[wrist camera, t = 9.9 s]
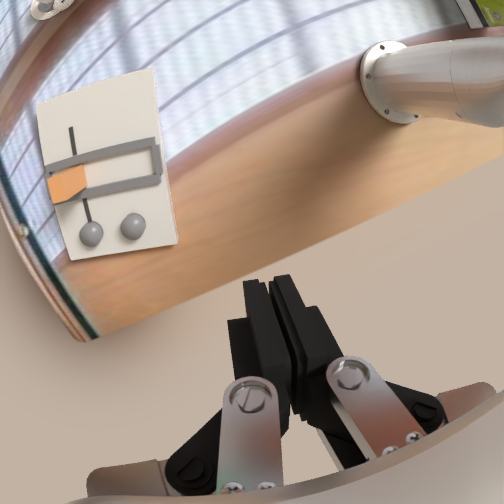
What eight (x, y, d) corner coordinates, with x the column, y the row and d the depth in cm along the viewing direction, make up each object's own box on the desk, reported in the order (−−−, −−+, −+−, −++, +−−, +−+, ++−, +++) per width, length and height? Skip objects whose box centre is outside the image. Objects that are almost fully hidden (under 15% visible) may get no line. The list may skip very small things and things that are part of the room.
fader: (83, 164, 29) (61, 174, 24) (87, 185, 30) (67, 200, 25) (69, 167, 29) (47, 179, 23) (74, 189, 30) (52, 203, 25)
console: (155, 70, 27) (149, 65, 24) (179, 237, 37) (176, 249, 34) (43, 104, 26) (29, 105, 23) (76, 253, 36) (67, 265, 33)
